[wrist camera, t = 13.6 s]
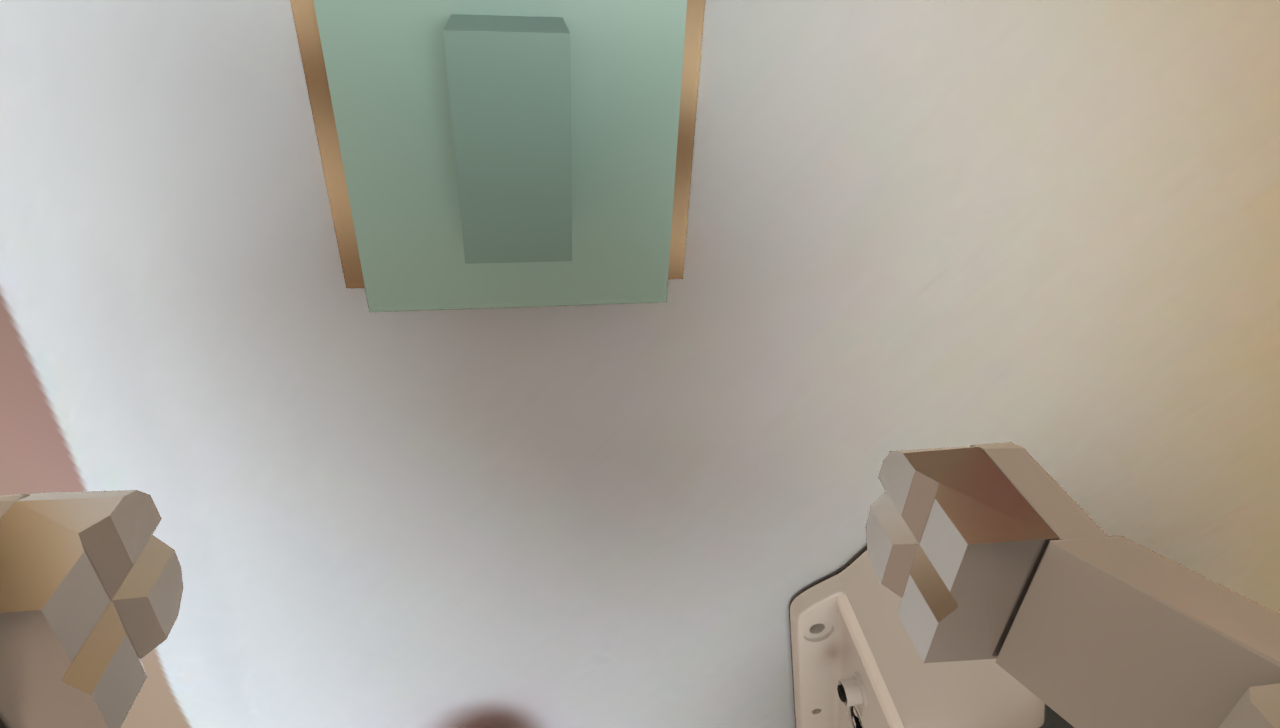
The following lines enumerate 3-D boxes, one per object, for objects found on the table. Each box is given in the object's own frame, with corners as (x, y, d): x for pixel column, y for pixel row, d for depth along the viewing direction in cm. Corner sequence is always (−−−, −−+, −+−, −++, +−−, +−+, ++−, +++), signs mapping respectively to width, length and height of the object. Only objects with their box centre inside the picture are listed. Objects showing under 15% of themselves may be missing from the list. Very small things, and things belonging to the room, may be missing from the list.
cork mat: (679, 271, 27) (682, 278, 27) (349, 280, 26) (346, 288, 25) (708, -104, 21) (713, -104, 20) (271, -127, 19) (265, -128, 19)
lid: (657, 279, 27) (683, 346, 23) (377, 288, 25) (352, 359, 21) (680, -104, 20) (722, -108, 16) (308, -124, 19) (253, -133, 15)
